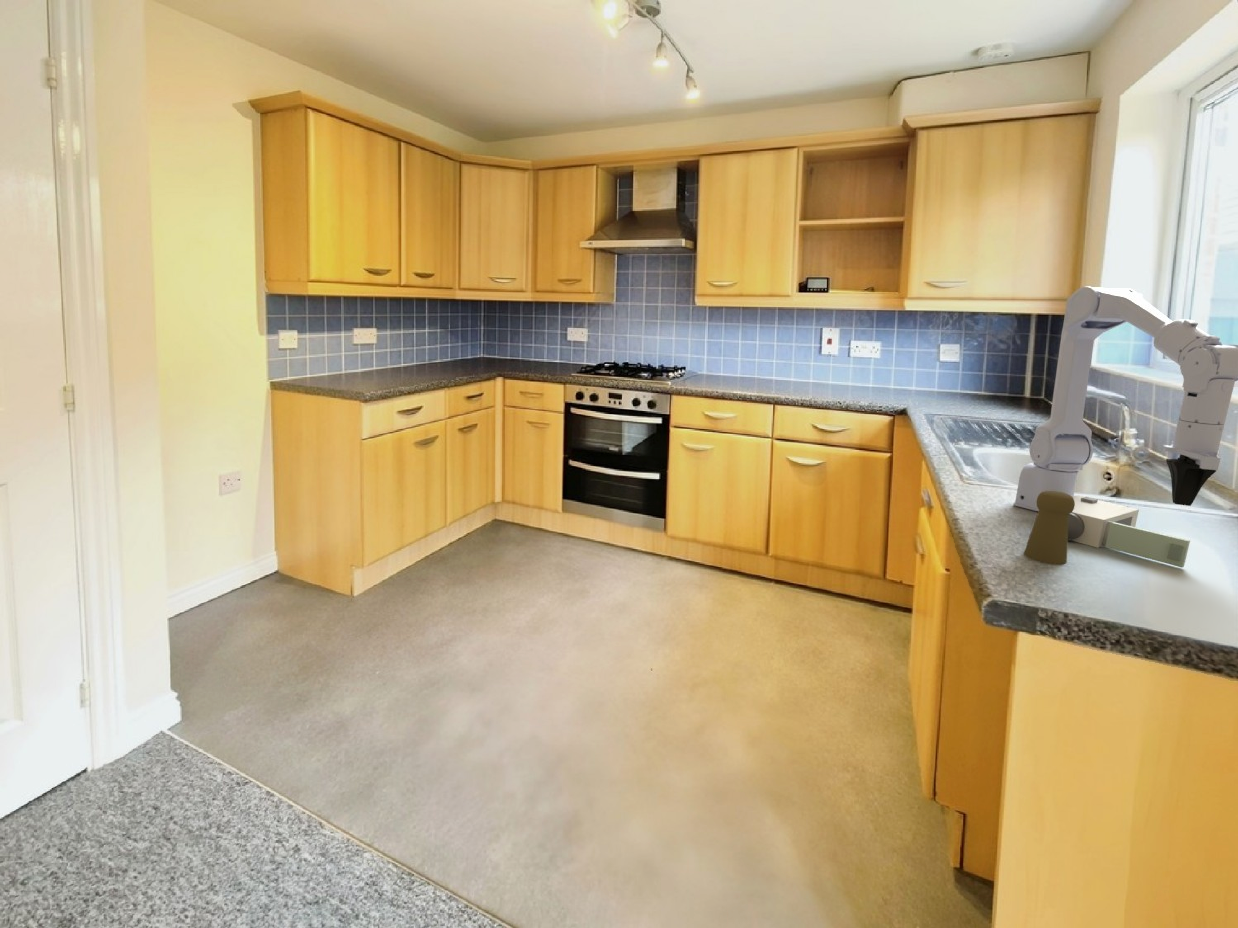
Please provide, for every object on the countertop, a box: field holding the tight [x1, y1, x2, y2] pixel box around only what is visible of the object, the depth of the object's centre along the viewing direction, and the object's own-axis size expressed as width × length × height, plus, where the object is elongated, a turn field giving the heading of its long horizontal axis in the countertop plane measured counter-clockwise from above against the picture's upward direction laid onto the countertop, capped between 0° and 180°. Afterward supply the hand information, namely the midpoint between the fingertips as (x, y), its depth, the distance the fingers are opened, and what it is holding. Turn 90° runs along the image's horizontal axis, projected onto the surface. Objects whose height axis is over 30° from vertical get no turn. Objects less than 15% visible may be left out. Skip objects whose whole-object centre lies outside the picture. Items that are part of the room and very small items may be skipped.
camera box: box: [1067, 495, 1140, 548], centre depth 126 cm, size 10×16×6 cm, turn 124°
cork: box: [1023, 491, 1075, 565], centre depth 112 cm, size 6×6×11 cm
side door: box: [1102, 521, 1191, 568], centre depth 114 cm, size 1×11×4 cm, turn 35°
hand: (1181, 504), depth 113 cm, fingers closed
